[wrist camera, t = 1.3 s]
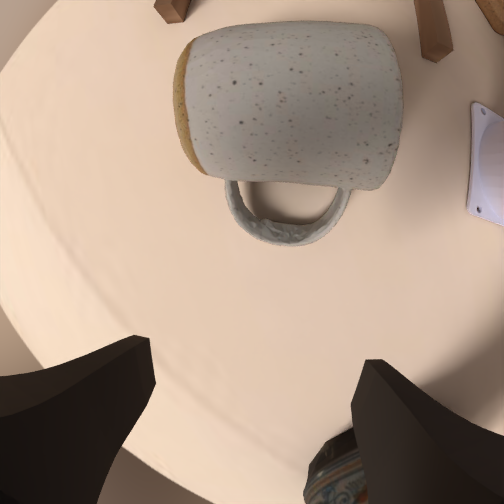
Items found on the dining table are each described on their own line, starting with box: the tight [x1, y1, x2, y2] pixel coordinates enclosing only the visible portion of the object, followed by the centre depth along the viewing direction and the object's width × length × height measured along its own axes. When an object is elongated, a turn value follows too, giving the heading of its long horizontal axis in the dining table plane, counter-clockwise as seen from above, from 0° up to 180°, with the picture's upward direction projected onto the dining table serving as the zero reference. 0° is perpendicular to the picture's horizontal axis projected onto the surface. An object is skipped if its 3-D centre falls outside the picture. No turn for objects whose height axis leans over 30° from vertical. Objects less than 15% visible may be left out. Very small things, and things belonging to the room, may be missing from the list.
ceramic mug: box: [173, 21, 403, 246], centre depth 11 cm, size 11×8×8 cm
